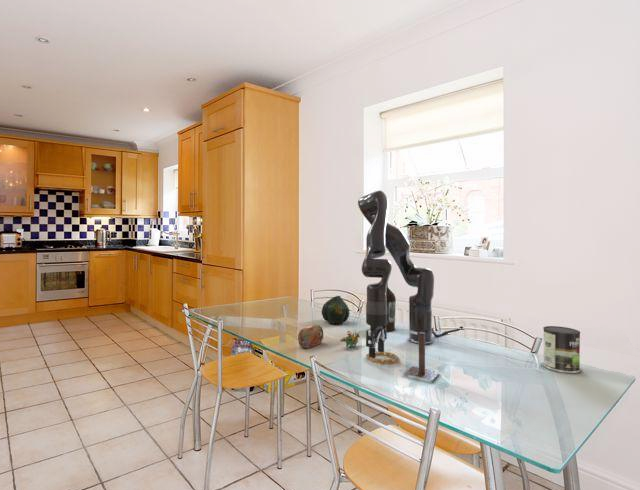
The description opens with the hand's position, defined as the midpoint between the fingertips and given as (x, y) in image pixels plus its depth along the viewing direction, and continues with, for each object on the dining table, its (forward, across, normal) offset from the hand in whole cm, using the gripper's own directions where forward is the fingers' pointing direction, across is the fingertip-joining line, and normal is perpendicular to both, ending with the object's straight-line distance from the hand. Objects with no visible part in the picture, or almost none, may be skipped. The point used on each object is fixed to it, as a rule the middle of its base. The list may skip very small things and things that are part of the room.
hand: (376, 354), depth 147 cm
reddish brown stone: (+4, -6, -32) cm, 32 cm away
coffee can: (+4, -37, +53) cm, 65 cm away
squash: (+4, -50, -42) cm, 65 cm away
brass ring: (+3, -5, 0) cm, 6 cm away
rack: (+4, +1, +16) cm, 17 cm away
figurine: (+4, -11, -16) cm, 20 cm away
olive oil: (+4, -52, -16) cm, 54 cm away
